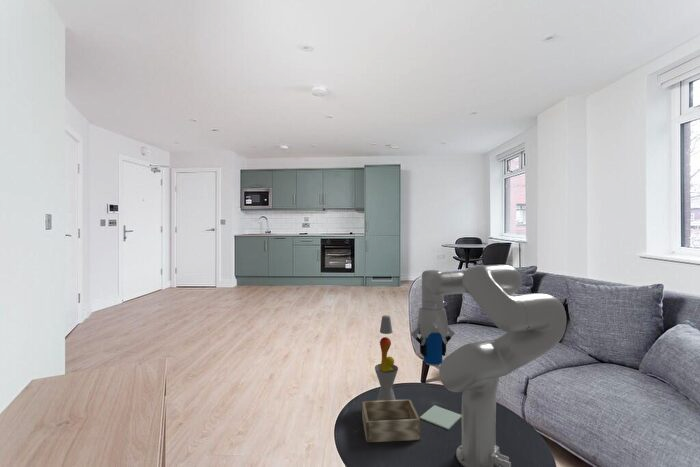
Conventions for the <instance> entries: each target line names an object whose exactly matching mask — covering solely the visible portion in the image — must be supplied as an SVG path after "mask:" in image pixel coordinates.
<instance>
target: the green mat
mask: <svg viewBox="0 0 700 467" xmlns="http://www.w3.org/2000/svg"><path fill="white" fill-rule="evenodd" d="M419 418H420V420H423V421H426V422H428V423H431V424H433V425H436V426H438V427H441V428H443V429H446V430H447V431H449V430H450V429H451V428H452V427H453V426H454V425H455V424H456V423H457V422H458V421H459V420H460V419H462V414H461V413H457V412H454V411H452V410H448V409H446V408H443V407H440V406H438V405H435V404H434V405H433V406H432V407H430V408H429V409H428V410H427V411H425V412H424V413H423V414H421V416H419Z"/></svg>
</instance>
